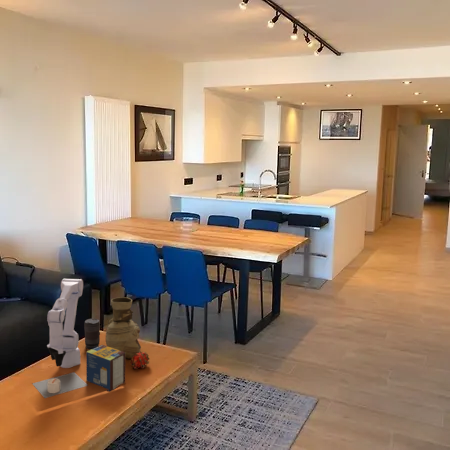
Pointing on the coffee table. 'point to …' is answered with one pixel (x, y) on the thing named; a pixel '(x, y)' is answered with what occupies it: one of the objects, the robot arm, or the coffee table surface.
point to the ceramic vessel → (123, 328)
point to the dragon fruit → (140, 360)
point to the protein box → (105, 367)
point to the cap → (53, 385)
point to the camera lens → (92, 333)
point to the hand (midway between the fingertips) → (56, 362)
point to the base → (61, 384)
